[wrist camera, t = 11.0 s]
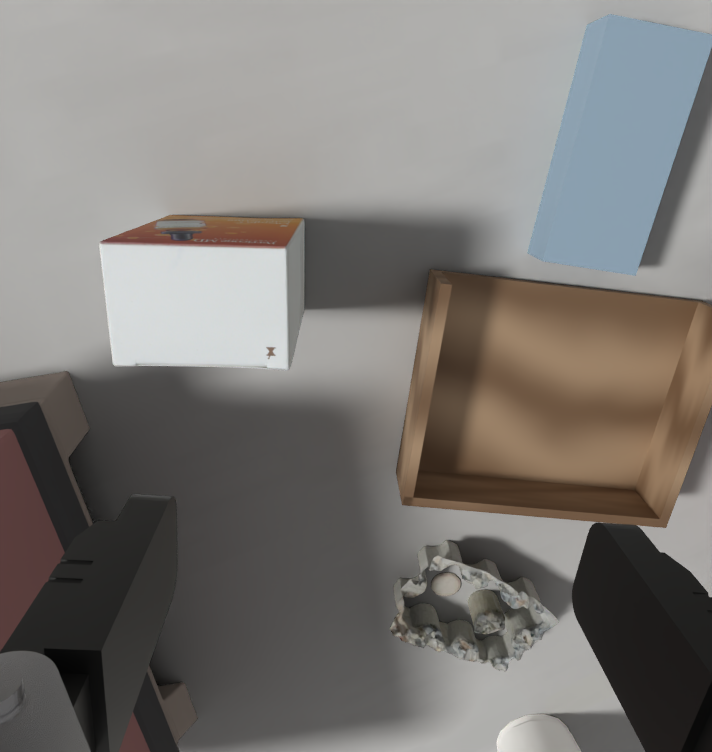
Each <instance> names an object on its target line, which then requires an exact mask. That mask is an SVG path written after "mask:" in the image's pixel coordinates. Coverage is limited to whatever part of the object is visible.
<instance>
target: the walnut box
mask: <svg viewBox="0 0 712 752" xmlns="http://www.w3.org/2000/svg"><path fill="white" fill-rule="evenodd" d="M711 406H712V305H711V304H708V303H706V302H703V301H698V300H690V299H681V298H672V297H664V296H655V295H647V294H638V293H630V292H621V291H612V290H604V289H595V288H587V287H578V286H569V285H561V284H552V283H544V282H535V281H527V280H518V279H509V278H501V277H492V276H484V275H475V274H466V273H458V272H449V271H441V270H432V269H430V272H429V278H428V284H427V290H426V296H425V302H424V308H423V314H422V320H421V326H420V332H419V338H418V344H417V350H416V356H415V362H414V367H413V373H412V379H411V385H410V391H409V397H408V403H407V409H406V415H405V421H404V427H403V433H402V439H401V445H400V451H399V457H398V463H397V469H396V474H397V480H398V485H399V491H400V496H401V501H402V505H407V506H419V507H431V508H442V509H454V510H465V511H477V512H489V513H500V514H512V515H523V516H535V517H547V518H558V519H570V520H582V521H593V522H605V523H616V524H630V525H640V526H651V527H663V528H666V527H667V524H668V521H669V519H670V516H671V513H672V510H673V508H674V505H675V502H676V500H677V497H678V494H679V492H680V489H681V486H682V484H683V481H684V478H685V476H686V473H687V470H688V468H689V465H690V462H691V460H692V457H693V454H694V452H695V449H696V446H697V444H698V441H699V438H700V436H701V433H702V430H703V427H704V425H705V422H706V419H707V417H708V414H709V411H710V409H711Z"/></svg>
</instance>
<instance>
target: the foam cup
mask: <svg viewBox="0 0 712 752" xmlns="http://www.w3.org/2000/svg"><path fill="white" fill-rule="evenodd" d="M496 744H497V747H498V749H497V752H581V750H580V748H579V746H578V744H577V743H576V741H575V739H574V737H573V735H572V734H571V733H570V732H569V729H568V727H567V726H566V725H565V724H564V723H563V722H562V721H561V720H560V719H559V718H556V717H553V716H549V715H546V714H534V715H526V716H523V717H521V718H518V719H516V720H513V721H511V722H510V723H509V724H508V725H507V726H506V727H504V728H503V729H502V730H501V731H500V734H499V737H498V739H497V742H496Z"/></svg>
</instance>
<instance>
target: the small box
mask: <svg viewBox="0 0 712 752" xmlns="http://www.w3.org/2000/svg"><path fill="white" fill-rule="evenodd" d="M99 249H100V257H101V266H102V275H103V284H104V293H105V301H106V310H107V319H108V327H109V336H110V344H111V352H112V362H113V365H114V366H116V367H123V366H193V367H235V368H261V369H272V370H289V369H290V367H291V363H292V359H293V355H294V352H295V347H296V342H297V337H298V333H299V329H300V325H301V321H302V317H303V313H304V282H305V222H304V219H302V218H240V217H216V216H185V215H169V216H166V217H164V218H161V219H159V220H156V221H153V222H150V223H148V224H145V225H143V226H140V227H138V228H135V229H132V230H129V231H126V232H124V233H121V234H119V235H116V236H113V237H111V238H108V239H106V240H103V241H101V242H99Z"/></svg>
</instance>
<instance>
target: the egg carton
mask: <svg viewBox="0 0 712 752" xmlns="http://www.w3.org/2000/svg"><path fill="white" fill-rule="evenodd" d="M417 557H418V561H419V567H420V571H421V573H420V574H419V575H418V576H417V577H414V578H412V579H404V578H400V579H399V580H398V581H397V582H396V583H395V584H394V586H393V589H394V596H395V602H396V607H397V609H398V610H399V612H400V613H398V614H397V616H396V617H395V618H394V621H393V623H392V625H391V626H390V631H391V632H392V633H393V635H394V636H396V637H399V638H400V639H401V640H402V641H404V642H409V643H411V644H412V645H413V646H418V647H422V648H424V647H425V645H426V644H427V645H428V646H430V647H432V648H433V649H435V650H436V651H438V652H440V651H444V652H447V653H450V654H452V655H454V656H456V657H457V658H459V659H462V660H467V661H473V662H475V661H478V662H480V663H486V662H489V663H491V664H492V666H493V667H494V668H495V669H497V670H503V671H506V670H507V668H508V664H509V662H510V661H511V660H512V659H513V658H515V659H517V660H520V659H521V657H522V654H523V652H524V651H525V650H529V648H531V647H532V646H533V644H534V643H536V642H537V641H539V640H542V636H543V633H544V631H546V630H548V629H550V628H552V627H554V626H555V625H556V624H558V623H559V621H558V620H557V618H556V617H555V616H554V615H553V614H552V613H551V612H550V611H549V610H548V609H546V608H545V607H544V606H543V605H541V604H540V603H541V601H540V599H539V596H538V594H537V592H536V590H535V587H534V585H533V583H532V581H531V580H529V579H527V578H524V577H520V578H519V579H517V580H515V581H513V582H508V583H506V582H504V581H503V580H501V577H500V575H499V572H498V569H497V566H496V564H495V563H494V562H492V561H490V560H488V559H483V560H482V561H480V562H479V563H476V564H471V565H469V564H464V563H463V562H462V558H461V555H460V551H459V548H458V545H457V544H455V543H453V542H451V541H449V540H446V541H444V542H443V543H442V544H440V545H438V546H433V547H431V546H424V547H423V548H422V549H421V550H420V551H419V552H418V554H417ZM450 565H458V566H459V568H460V571H461V575H462V578H463V579H464V580H465V581H467V582H469V583H471V584H473V585H474V586H475V588H476V589H480V588H483V587H486V586H488V583H489V581H491V580H493V581H494V582H495V584H496V586H498V587H499V589H500V594H501V598H502V600H503V601H504V602H506V603H507V604H508V605H509V606H510V607H511V609H509V610H508V611H507V612H506V613H505V615H504V614H503V611H502V609H501V606H500V603H499V600H498V598H497V596H496V594H495V593H494V592H493V591H490V590H479V591H475V592H474V593H473V594H471V595H470V597H469V599H468V606H469V610H470V614H471V617H472V621H473V625H474V632H475V633H482V634H490V633H493V632H496V631H499V630H503V629H504V628H505V627H506V629H507V632H506V633H505V634H504V635H503V636H489V637H487V638H485V639H483V640H477V639H475V635H474V632H473V628H472V625H471V624H470V623H468V622H467V621H464V620H454V621H452V622H450V623H448V624H446V623H443V622H439V619H438V616H437V612H436V610H435V608H434V607H433V606H431V605H429V604H424V603H421V604H417V605H414V606H412V607H411V608H408V607H405V606H404V600H403V598H404V597H407V598H414V597H416V596H418V595H420V594H422V593H423V592H424V591H425V590H426V587H427V583H428V582H427V577H426V573H425V569H426V568H428V569H429V570H430V571H432V570H437V571H442V570H443V569H444V568H447V567H449V566H450ZM460 586H461V582H460V579H459V577H458V576H457V575H455V574H454V573H450V572H444V573H440V574H438V575H436V576H435V577H434V578H433V580H432V582H431V588H432V590H433V592H434V593H436V594H437V595H440V596H450V595H453V594H455V593H456V592H457V591H458V590H459V589H460ZM523 606H524V607H523Z"/></svg>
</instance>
